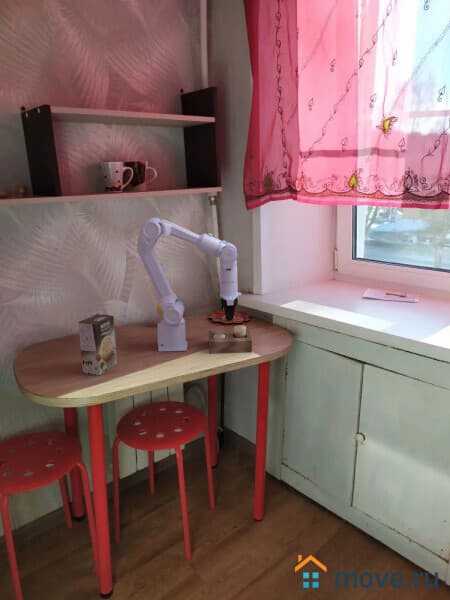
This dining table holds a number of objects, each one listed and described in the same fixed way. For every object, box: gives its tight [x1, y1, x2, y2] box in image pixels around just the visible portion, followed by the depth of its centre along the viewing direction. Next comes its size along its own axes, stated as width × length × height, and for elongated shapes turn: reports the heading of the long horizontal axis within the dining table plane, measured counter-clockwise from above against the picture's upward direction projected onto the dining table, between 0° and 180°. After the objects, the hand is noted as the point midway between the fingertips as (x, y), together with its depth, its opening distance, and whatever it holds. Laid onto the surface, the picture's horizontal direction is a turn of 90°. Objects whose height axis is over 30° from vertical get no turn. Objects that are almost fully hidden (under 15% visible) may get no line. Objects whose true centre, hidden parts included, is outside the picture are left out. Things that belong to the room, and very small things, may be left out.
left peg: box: [213, 334, 225, 339], centre depth 157 cm, size 4×4×4 cm
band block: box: [208, 329, 253, 355], centre depth 158 cm, size 14×11×4 cm
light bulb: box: [155, 302, 164, 323], centre depth 178 cm, size 6×6×10 cm
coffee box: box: [78, 313, 118, 376], centre depth 140 cm, size 9×6×16 cm
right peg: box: [233, 324, 247, 338], centre depth 157 cm, size 4×4×4 cm
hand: (229, 320), depth 156 cm, fingers closed
